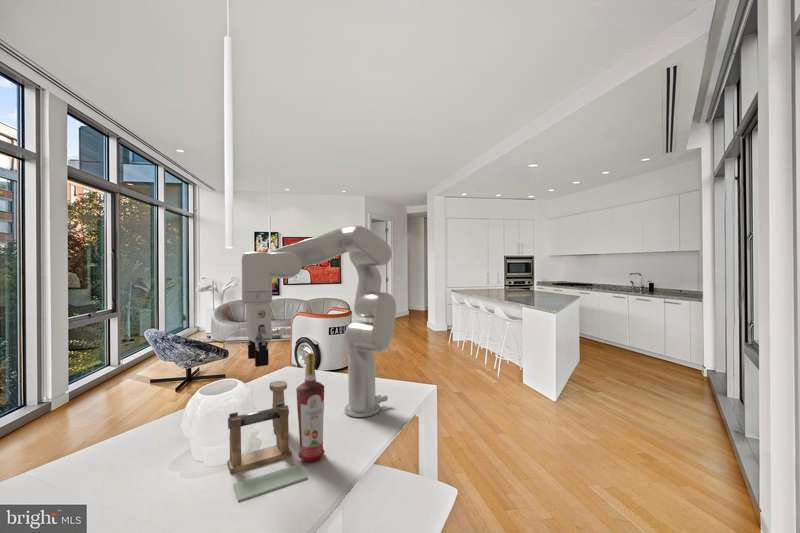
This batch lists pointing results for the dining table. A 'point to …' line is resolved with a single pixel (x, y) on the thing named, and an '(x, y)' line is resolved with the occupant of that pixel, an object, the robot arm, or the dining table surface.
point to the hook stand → (262, 455)
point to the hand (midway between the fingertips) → (257, 361)
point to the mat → (269, 482)
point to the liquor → (310, 413)
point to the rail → (257, 416)
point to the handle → (277, 395)
